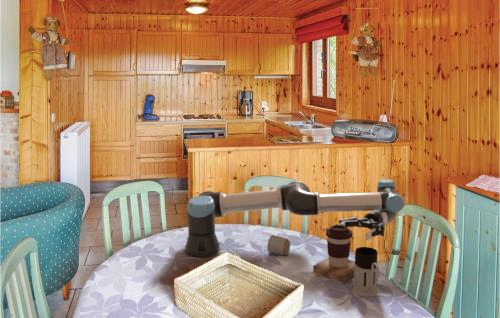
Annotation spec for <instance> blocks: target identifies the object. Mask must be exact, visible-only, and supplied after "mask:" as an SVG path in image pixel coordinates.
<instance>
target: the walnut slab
mask: <svg viewBox="0 0 500 318" xmlns="http://www.w3.org/2000/svg"><path fill="white" fill-rule="evenodd" d="M354 262H355V260H351V259H348V265H347V266H346V267H344V268H336V267H332V266H331V265H330V264H329V256H327V257H326V258H325V259H322V260H321V261H318V263H316V264H314V265H313V266H312V274H314V275H316V276H320V277H323V278H326V279H330V280H333V281H335V282H337V283H341V284H345V285H346V284H347V283H349V282H350V281H351V280H354Z"/></svg>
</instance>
